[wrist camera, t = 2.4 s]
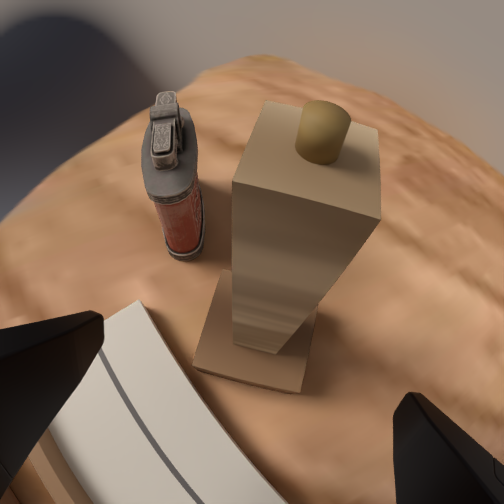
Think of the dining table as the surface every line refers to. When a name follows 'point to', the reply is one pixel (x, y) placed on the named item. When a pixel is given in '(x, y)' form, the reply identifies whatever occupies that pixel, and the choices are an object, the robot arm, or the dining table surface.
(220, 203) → the dining table surface
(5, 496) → the brown wooden block structure
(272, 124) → the wooden post on base
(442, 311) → the dining table surface
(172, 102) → the lighter
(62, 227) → the dining table surface
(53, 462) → the board
